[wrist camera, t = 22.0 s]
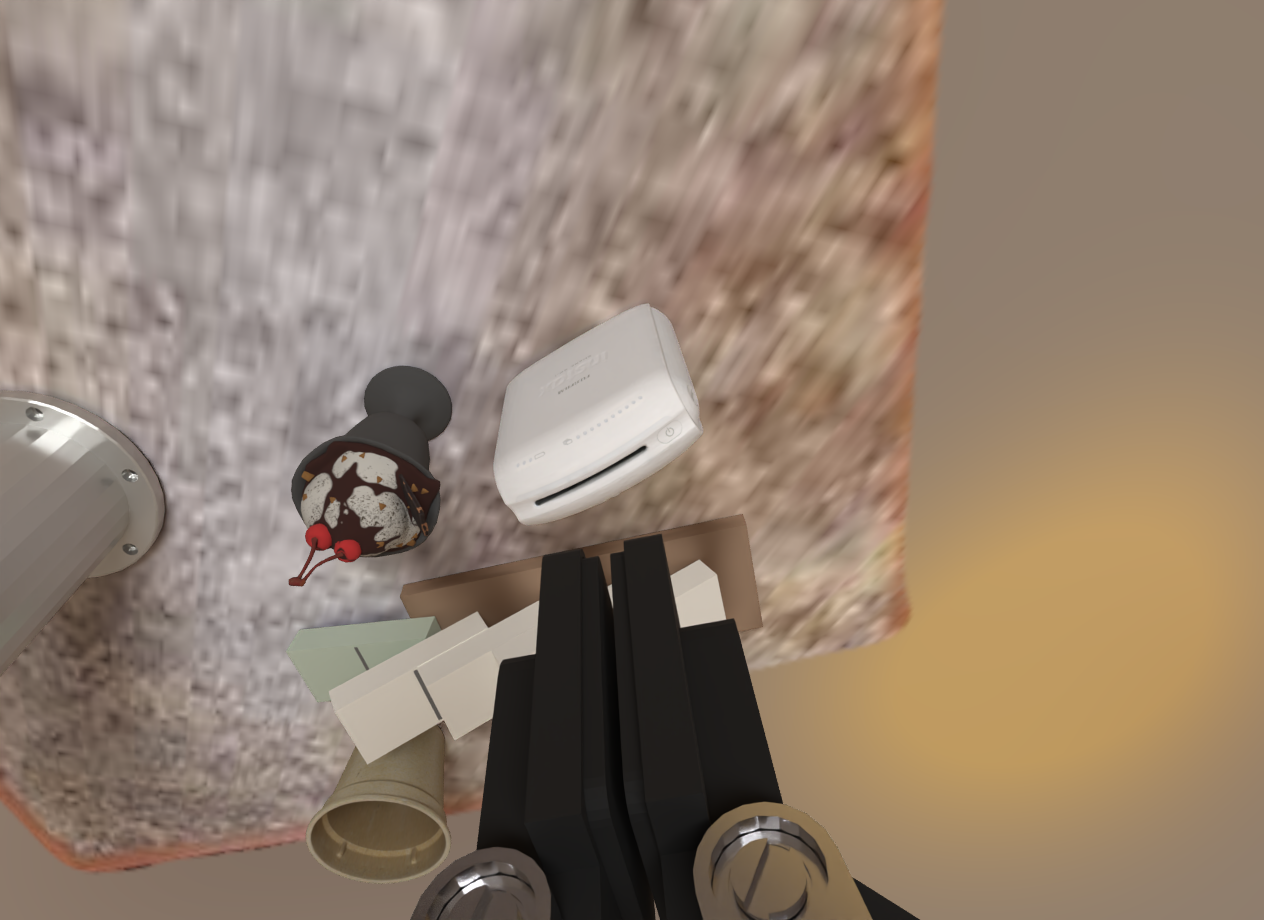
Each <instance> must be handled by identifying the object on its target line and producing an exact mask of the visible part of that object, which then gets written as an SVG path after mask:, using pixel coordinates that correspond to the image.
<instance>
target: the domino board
mask: <svg viewBox="0 0 1264 920" xmlns="http://www.w3.org/2000/svg"><path fill="white" fill-rule="evenodd" d="M657 534H662V537H663V542H664V547H665V552H666V557H667V562H668V567H669V572H670V576H671V575H673V574H674V573H676V572H678V571H680V570H681V569H683V568H685V567H687V566H689V565H690V564H692V563H694V562H696V561H698V560H700V561H702V562H703V563H704V564H705V565H706V566H708V567H709V568H710V569H711V570H712V571H713V572H715V573H716V574H717V578H718V582H719V587H720V592H721V597H722V602H723V607H724V611H725V616H726V620H727V619H732V618H734V620H735V622H736V626H737V629H738V632H739V631H744V630H749V629H754V628H759V627H763V624H762V618H761V612H760V606H759V600H758V593H757V587H756V581H755V575H754V569H753V563H752V557H751V551H750V545H749V538H748V532H747V526H746V522H745V519H744V516H743V514H741V515H736V516H731V517H726V518H722V519H717V520H712V521H707V522H702V523H698V524H693V525H688V526H683V527H678V528H674V529H669V530H664V531H659V532H655V533H650V534H645V535H640V536H635V537H631V538H626V539H621V540H616V541H611V542H607V543H602V544H597V545H592V546H587V547H583V548H578V549H583V551H584V553H585V557H586V558H589V557H595V556H599V558H600V560H601V564H602V568H603V572H604V575H605V579H606V583H607V587H608V586H610V585H611V584H612V581H611V564H610V554H611V553H617V552H622V551H624V544H623V542H624V540H629V539H635V538H640V537H646V536H651V535H657ZM573 550H575V549H573ZM568 551H570V550H568ZM563 552H565V551H563ZM542 557H543V556H539V557H535V558H530V559H525V560H520V561H516V562H511V563H506V564H501V565H496V566H492V567H487V568H482V569H477V570H472V571H468V572H463V573H458V574H453V575H448V576H444V577H439V578H434V579H429V580H424V581H420V582H415V583H410V584H405V585H403V589H402V592H401V595H400V598H401V600H402V602H403V604H404V606H405V608H406V610H407V612H408V614H409V616H410V618H411V619H412V618H422V617H432V616H435V618H436V620H437V622H438V624H439V626H440V628H441V630H444V629H445V628H447V627H449V626H451V625H453V624H455V623H457V622H458V621H460V620H462V619H464V618H466V617H468V616H470V615H472V614H473V613H475V612H478V613H479V615H480V616H481V618H482V619H483V621H484V623H485V624H486V626H487V627H488V628H490V627H492V626H493V625H495V624H497V623H499V622H501V621H502V620H504V619H506V618H508V617H510V616H512V615H513V614H515V613H517V612H519V611H521V610H522V609H524V608H526V607H528V606H530V605H532V604H533V603H535V602H537V601H539V595H540V580H541V566H542Z"/></svg>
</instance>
